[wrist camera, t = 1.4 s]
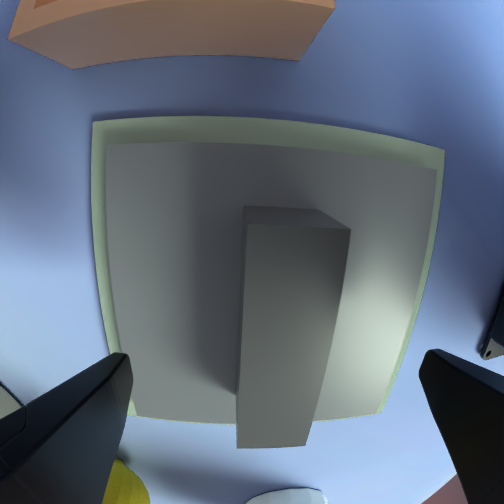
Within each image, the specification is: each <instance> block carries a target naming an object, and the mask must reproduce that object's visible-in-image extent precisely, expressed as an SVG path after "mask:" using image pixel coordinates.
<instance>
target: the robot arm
mask: <svg viewBox="0 0 504 504" xmlns="http://www.w3.org/2000/svg"><path fill="white" fill-rule="evenodd" d="M502 355H504V287H503V290H502V294H501V297H500V300H499V303H498V307H497V310H496V313H495V316H494V318H493V321H492V324H491V327H490V329H489V332H488V335H487V337H486V340H485V342H484V345H483V347H482V350H481V352H480V357H481V358H482V359H483V360H488V359H492V358H495V357H498V356H502ZM419 378H420V381H421V384H422V387H423V389H424V392H425V395H426V398H427V401H428V404H429V407H430V410H431V412H432V415H433V417H434V419H435V422H436V424H437V426H438V428H439V431H440V433H441V435H442V438H443V440H444V442H445V445H446V447H447V449H448V452H449V454H450V457H451V459H452V462H453V464H454V467H455V469H456V472H457V474H458V477H459V480H460V482H461V485H462V488H463V491H464V493H465V496H466V499H467V502H468V504H504V376H502V375H500V374H497V373H495V372H493V371H490V370H488V369H485V368H483V367H481V366H478V365H476V364H474V363H471V362H469V361H467V360H464V359H462V358H460V357H457V356H455V355H453V354H450V353H448V352H446V351H443V350H441V349H431V350H428V351H427V352H426V354H425V356H424V359H423V362H422V364H421V367H420V369H419ZM132 387H133V372H132V367H131V362H130V358H129V355H128V354H126V353H120V352H114V353H112V354H110V355H108V356H107V357H105V358H103V359H102V360H100V361H98V362H97V363H95V364H93V365H92V366H90V367H88V368H87V369H85V370H83V371H82V372H80V373H78V374H77V375H75V376H73V377H72V378H70V379H68V380H67V381H65V382H63V383H62V384H60V385H58V386H57V387H55V388H53V389H52V390H50V391H48V392H46V393H45V394H43V395H41V396H40V397H38V398H36V399H35V400H33V401H31V402H29V403H28V404H27V405H26V406H25V405H24V406H22V407H21V408H19V409H17V410H16V411H14V412H12V413H10V414H8V415H6V416H5V417H3V418H1V419H0V504H102V502H103V498H104V494H105V491H106V487H107V483H108V480H109V476H110V473H111V470H112V466H113V463H114V459H115V456H116V453H117V450H118V446H119V443H120V440H121V437H122V434H123V430H124V427H125V422H126V417H127V412H128V407H129V402H130V397H131V392H132Z"/></svg>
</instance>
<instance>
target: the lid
mask: <svg viewBox="0 0 504 504" xmlns="http://www.w3.org/2000/svg"><path fill="white" fill-rule="evenodd" d="M436 178H437V170H436V169H431V168H427V167H422V166H418V165H413V164H408V163H403V162H397V161H392V160H386V159H381V158H375V157H368V156H362V155H355V154H348V153H341V152H333V151H325V150H317V149H307V148H297V147H286V146H274V145H260V144H242V143H214V142H158V143H131V144H114V145H106V221H107V239H108V253H109V264H110V274H111V284H112V292H113V300H114V307H115V314H116V320H117V327H118V333H119V338H120V344H121V349H122V353H126V354H128V355H129V358H130V362H131V367H132V372H133V387H132V392H131V395H132V399H133V403H134V406H135V410H136V414H137V416H142V417H150V418H157V419H166V420H176V421H187V422H201V423H221V424H236V435H237V448H281V447H297V446H305V445H306V441H307V438H308V435H309V431H310V428H311V425H312V421H322V420H332V419H340V418H348V417H356V416H362V415H369V414H375V413H376V412H377V410H378V408H379V405H380V403H381V400H382V398H383V396H384V393H385V391H386V388H387V385H388V383H389V380H390V378H391V375H392V372H393V370H394V367H395V364H396V361H397V358H398V355H399V352H400V349H401V346H402V343H403V340H404V337H405V334H406V331H407V327H408V324H409V321H410V317H411V313H412V310H413V306H414V302H415V299H416V295H417V291H418V287H419V282H420V278H421V274H422V269H423V264H424V259H425V254H426V249H427V244H428V238H429V232H430V226H431V220H432V213H433V205H434V197H435V188H436Z"/></svg>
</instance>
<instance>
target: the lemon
mask: <svg viewBox="0 0 504 504" xmlns="http://www.w3.org/2000/svg"><path fill="white" fill-rule="evenodd" d="M102 504H150V499H149V494H148V491H147V489H146V487H145V485H144V484H143V482H142V481H141V479H140V478H139V477H138V476H137V475H136V474H135V473H134V472H133V471H131V470H130V469H128V468H127V467H126V466H125V465H124V463H123V462H122V461H121V460H118V459H115V460H114V463H113V466H112V470H111V473H110V476H109V480H108V483H107V487H106V491H105V494H104V498H103V502H102Z"/></svg>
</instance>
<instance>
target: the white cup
mask: <svg viewBox="0 0 504 504" xmlns="http://www.w3.org/2000/svg"><path fill="white" fill-rule="evenodd" d="M245 504H328V501H327V498H326V496H325V495H324V494H323V493H322V492H321V491H318V490H313V489H309V488H301V489H299V488H297V489H285V490H279V491H273V492H268V493H265V494H262V495H259V496H257V497H254V498H252V499H251V500H249V501H248V502H247V503H245Z"/></svg>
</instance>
